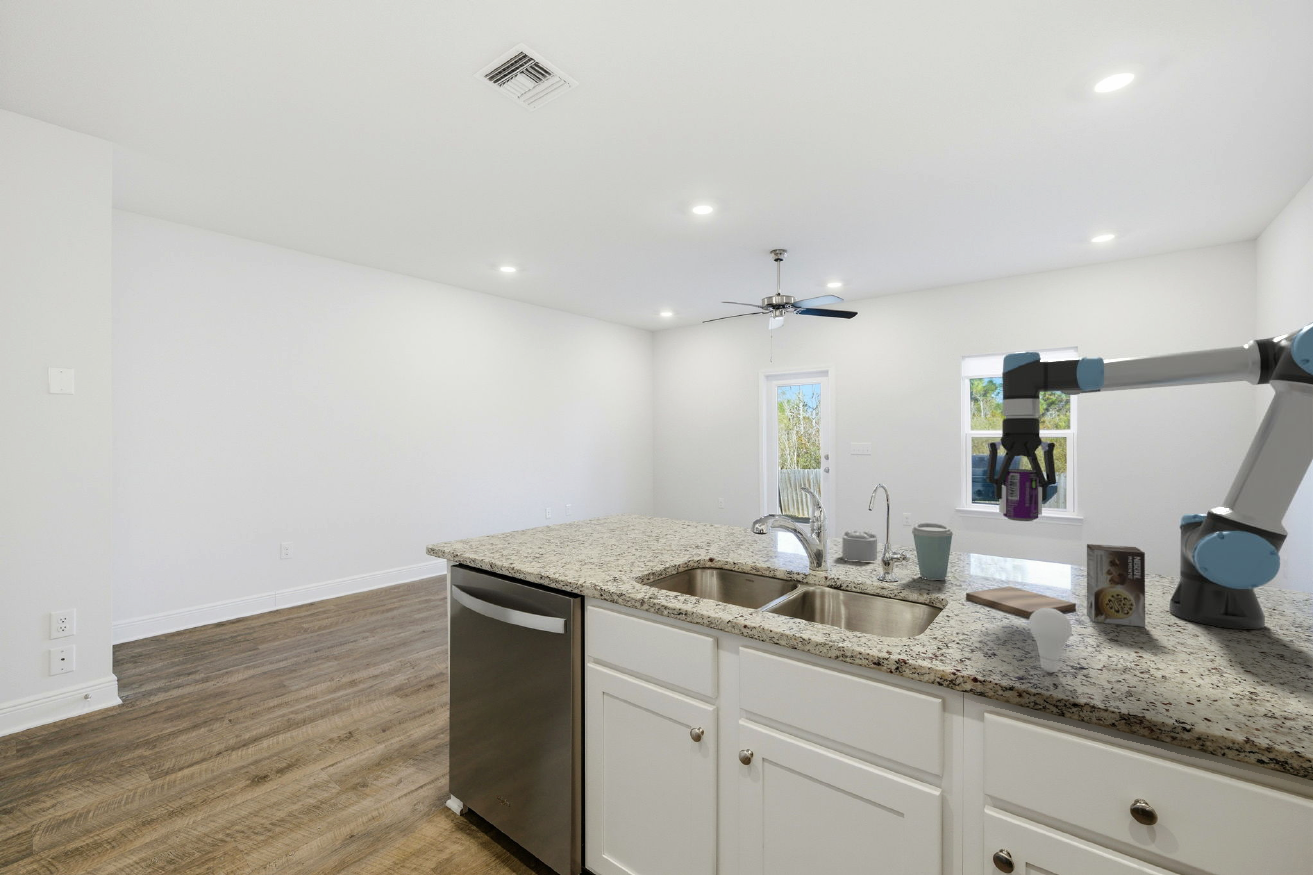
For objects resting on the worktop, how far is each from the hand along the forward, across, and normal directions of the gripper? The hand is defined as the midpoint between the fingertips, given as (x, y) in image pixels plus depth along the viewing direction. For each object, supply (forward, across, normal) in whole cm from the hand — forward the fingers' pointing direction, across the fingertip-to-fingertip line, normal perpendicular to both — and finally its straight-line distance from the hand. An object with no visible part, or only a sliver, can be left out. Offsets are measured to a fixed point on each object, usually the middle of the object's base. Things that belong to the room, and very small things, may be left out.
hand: (1020, 513), depth 137 cm
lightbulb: (+22, +7, +43) cm, 49 cm away
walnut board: (+22, 0, 0) cm, 22 cm away
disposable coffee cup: (+22, +16, -21) cm, 34 cm away
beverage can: (+2, 0, 0) cm, 2 cm away
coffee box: (+22, -16, +7) cm, 28 cm away
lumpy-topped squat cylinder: (+22, +34, -42) cm, 59 cm away
